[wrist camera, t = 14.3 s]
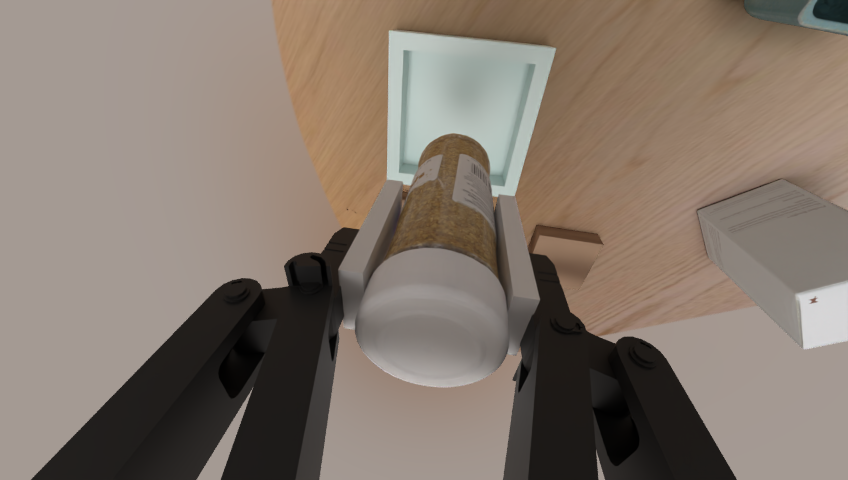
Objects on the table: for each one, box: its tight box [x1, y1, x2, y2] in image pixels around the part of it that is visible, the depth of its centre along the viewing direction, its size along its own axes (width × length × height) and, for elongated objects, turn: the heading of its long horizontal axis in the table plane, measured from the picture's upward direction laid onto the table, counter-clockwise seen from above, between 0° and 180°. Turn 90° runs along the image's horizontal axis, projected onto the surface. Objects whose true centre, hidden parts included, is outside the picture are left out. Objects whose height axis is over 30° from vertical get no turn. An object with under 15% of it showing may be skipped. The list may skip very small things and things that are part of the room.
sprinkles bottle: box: [355, 133, 509, 387], centre depth 14 cm, size 5×5×14 cm
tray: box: [387, 30, 556, 197], centre depth 29 cm, size 13×13×3 cm
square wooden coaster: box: [528, 225, 604, 290], centre depth 37 cm, size 7×7×2 cm
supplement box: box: [697, 179, 848, 349], centre depth 28 cm, size 7×7×13 cm
